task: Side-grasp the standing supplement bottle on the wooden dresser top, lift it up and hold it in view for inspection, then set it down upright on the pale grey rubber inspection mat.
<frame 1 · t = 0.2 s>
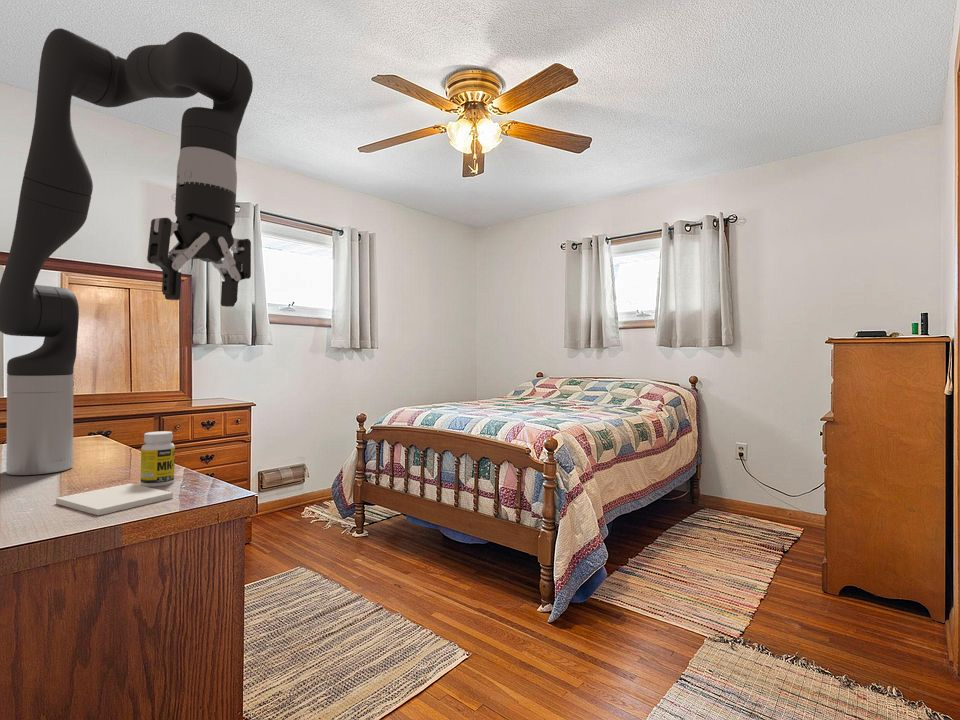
hand: (201, 303, 75), 29 cm above the table, tool pointing down, fingers open, 8 cm apart
supplement bottle: (157, 485, 87), on the table
inspection mat: (115, 500, 77), on the table
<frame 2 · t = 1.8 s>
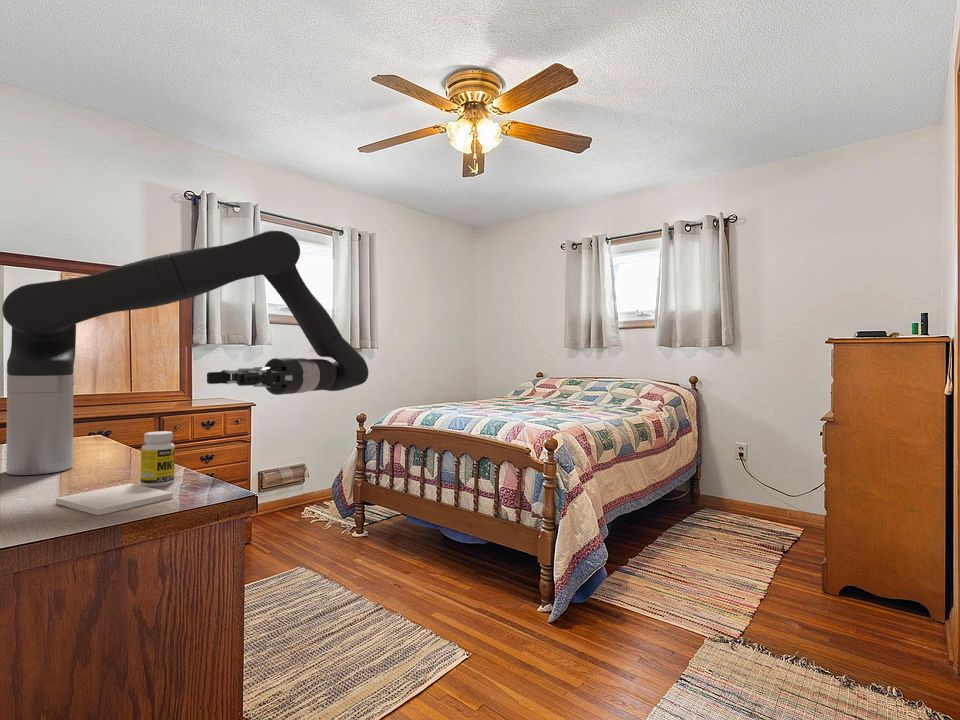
hand: (222, 378, 97), 17 cm above the table, tool horizontal, fingers open, 8 cm apart
nothing on the table moved.
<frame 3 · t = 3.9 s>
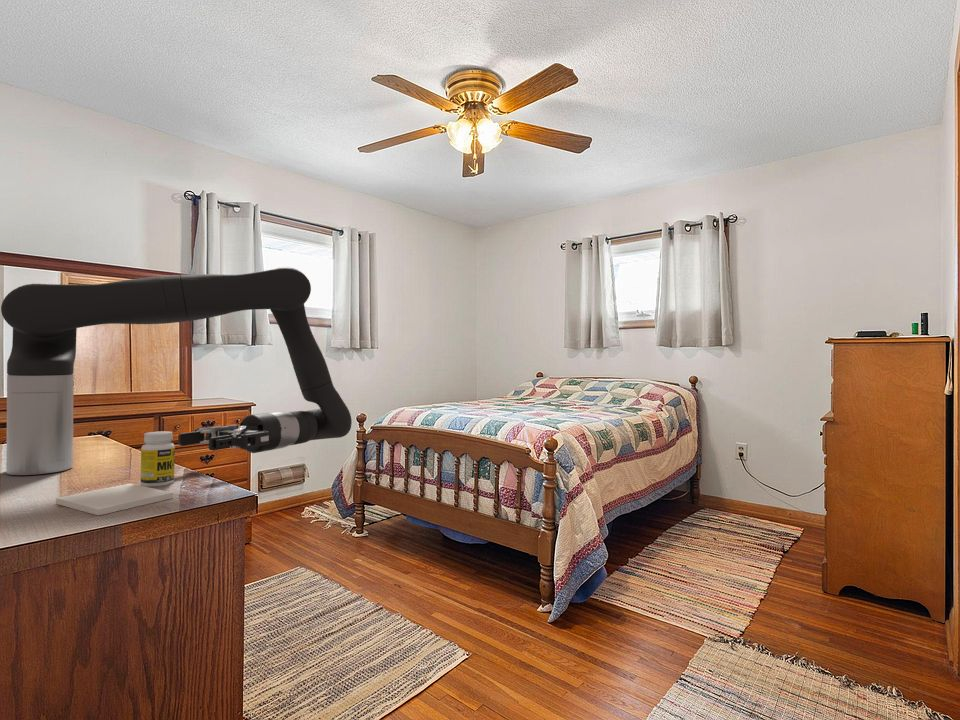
hand: (194, 442, 93), 6 cm above the table, tool horizontal, fingers open, 8 cm apart
nothing on the table moved.
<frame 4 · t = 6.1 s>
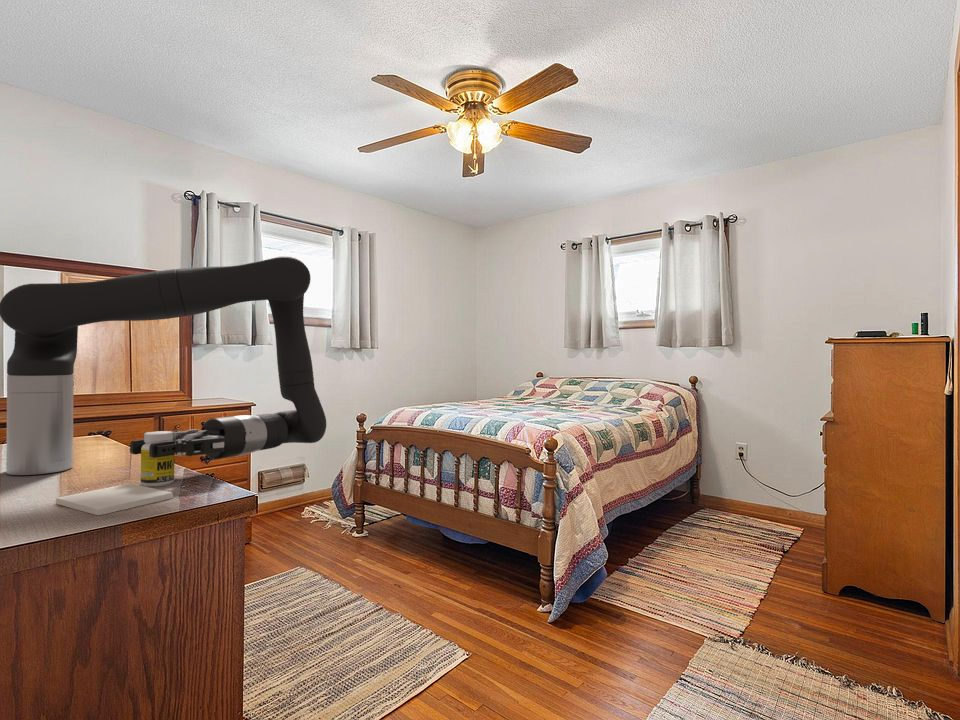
hand: (141, 449, 85), 6 cm above the table, tool horizontal, fingers closed on supplement bottle, 4 cm apart
supplement bottle: (157, 484, 87), on the table, touching gripper
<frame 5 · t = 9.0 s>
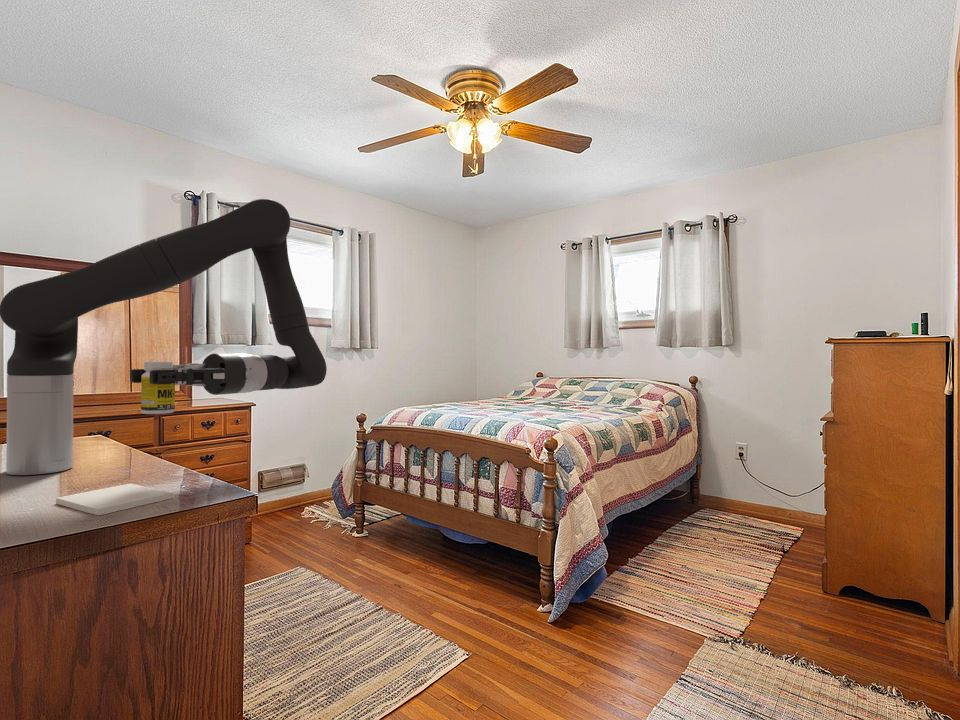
hand: (141, 376, 85), 18 cm above the table, tool horizontal, fingers closed on supplement bottle, 4 cm apart
supplement bottle: (158, 414, 87), point 11 cm above the table, touching gripper
when the fingers open (8 cm above the table, at t = 12.1 s): supplement bottle drops 1 cm, resting on inspection mat.
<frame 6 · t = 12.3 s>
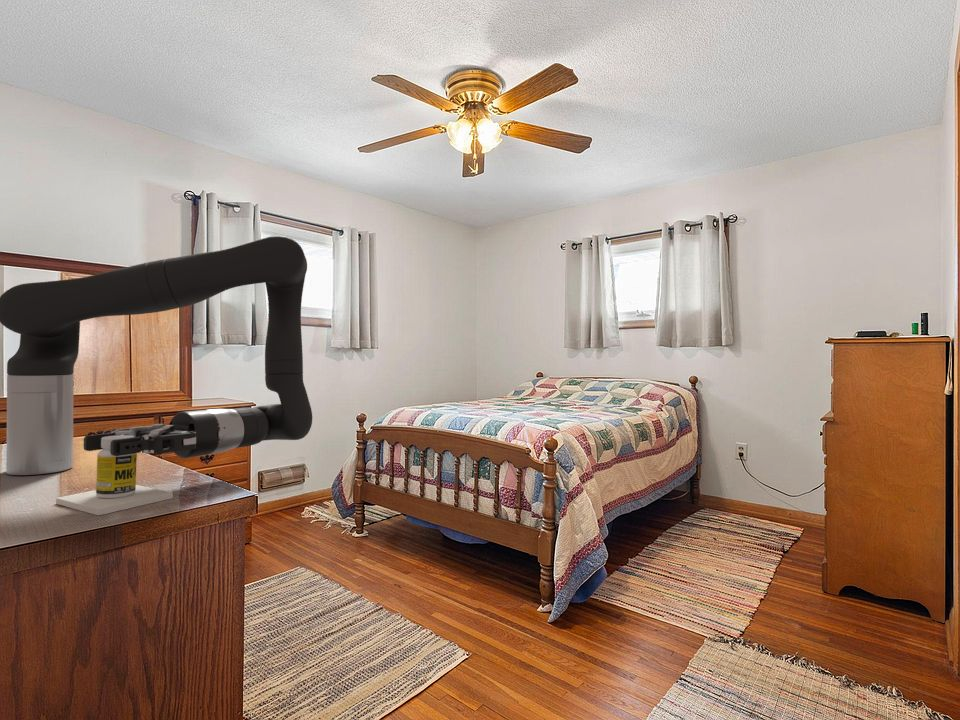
hand: (98, 445, 75), 8 cm above the table, tool horizontal, fingers open, 6 cm apart
supplement bottle: (116, 496, 77), point 1 cm above the table, touching inspection mat
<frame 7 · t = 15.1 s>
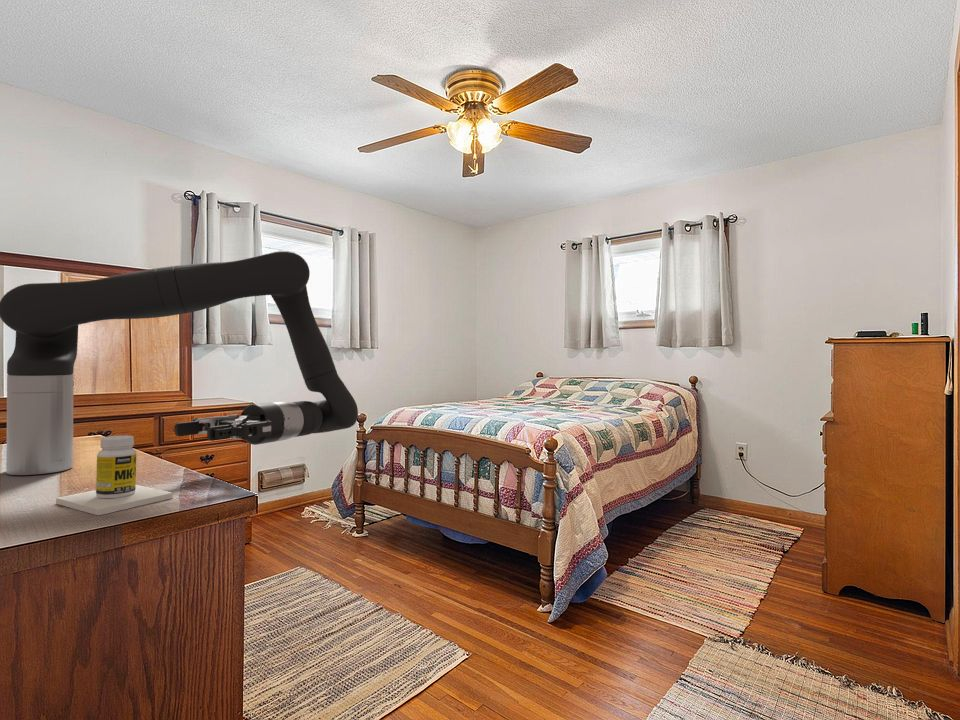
hand: (192, 432, 87), 9 cm above the table, tool horizontal, fingers open, 8 cm apart
nothing on the table moved.
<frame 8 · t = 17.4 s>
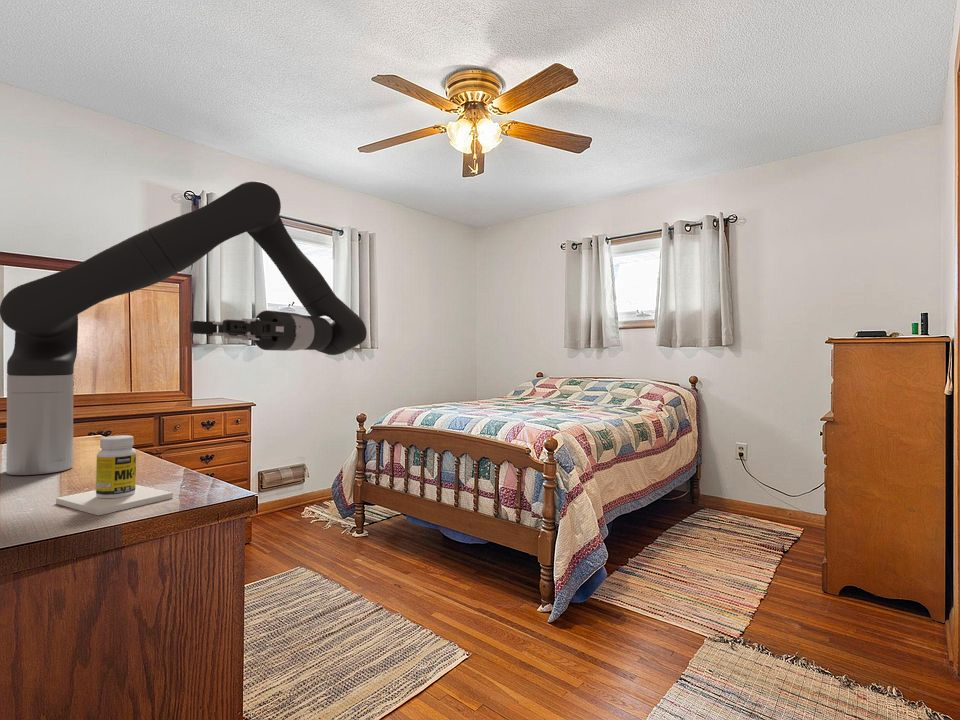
hand: (207, 326, 89), 26 cm above the table, tool horizontal, fingers open, 8 cm apart
nothing on the table moved.
at the end: supplement bottle inside the target area on the inspection mat (0.1 cm from its centre), point 0.6 cm above the inspection mat's base; supplement bottle tilted 0°; the gripper is holding nothing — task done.
